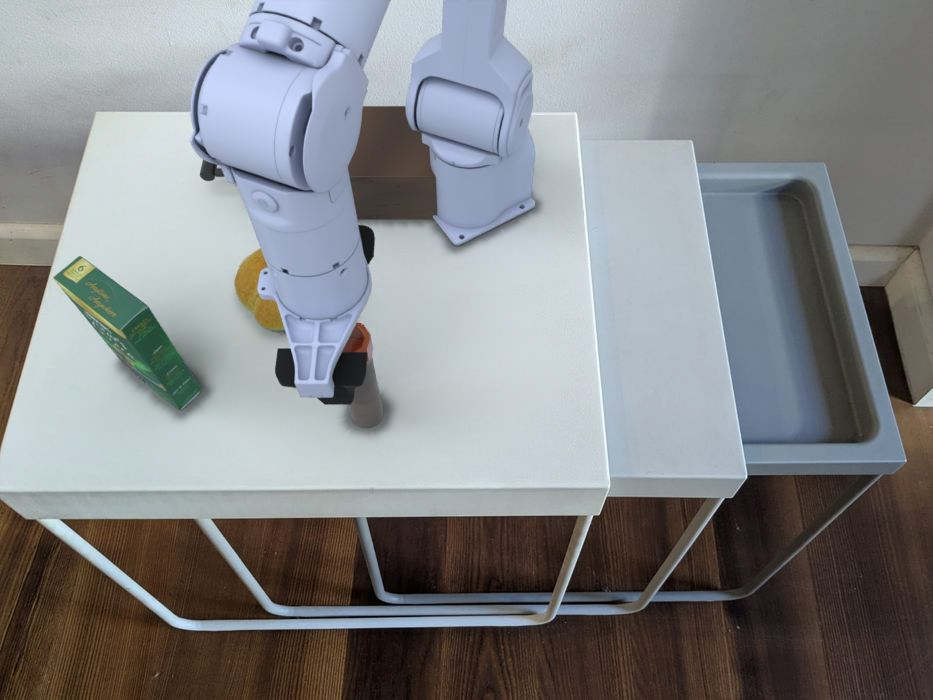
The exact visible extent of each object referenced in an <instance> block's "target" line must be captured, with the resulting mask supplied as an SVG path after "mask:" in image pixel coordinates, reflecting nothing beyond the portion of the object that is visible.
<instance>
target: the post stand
mask: <svg viewBox="0 0 933 700" xmlns="http://www.w3.org/2000/svg"><path fill="white" fill-rule="evenodd" d="M380 392H381V391H380V387H379V382H378V378H377V373H376V368H375V363H374V358H373V357H372V359H371V361H370V362H369V364H368V365H367V368H366V376H365V379H364V382H363V384H362V385H361V386H359V387H356V388H355V392H354V399H353V402H352V403H351V404H350V405H346V407H347V410H348V413H349V417H350V419H351V421H352V423H353V424H355V425H356V426H357V427H358V428H362V429H371V428H373V427H375V426H376V425H378V424H379V423H380V422H381V421H382V419H383V417H384V407H383V402H382V398H381V393H380Z"/></svg>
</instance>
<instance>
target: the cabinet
mask: <svg viewBox="0 0 933 700" xmlns="http://www.w3.org/2000/svg"><path fill="white" fill-rule="evenodd" d="M348 172H349V177H350V182H351V188H352V193H353V199H354V204H355V210H356V215H357V220H434V219H433V215H437V190H436V176H435V174H434V173H433V171H432V168H431V164H430V147H429V146H428V145H426V144H424V143H422V131H421V132H418V131H414V130H412V129H411V127H410V125H409V122H408V120H407V117H406V105H363V109H362V120H361V128H360V133H359V138H358V142H357V146H356V149H355V152H354V154H353V156H352V158H351V160H350V163H349V165H348Z"/></svg>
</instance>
